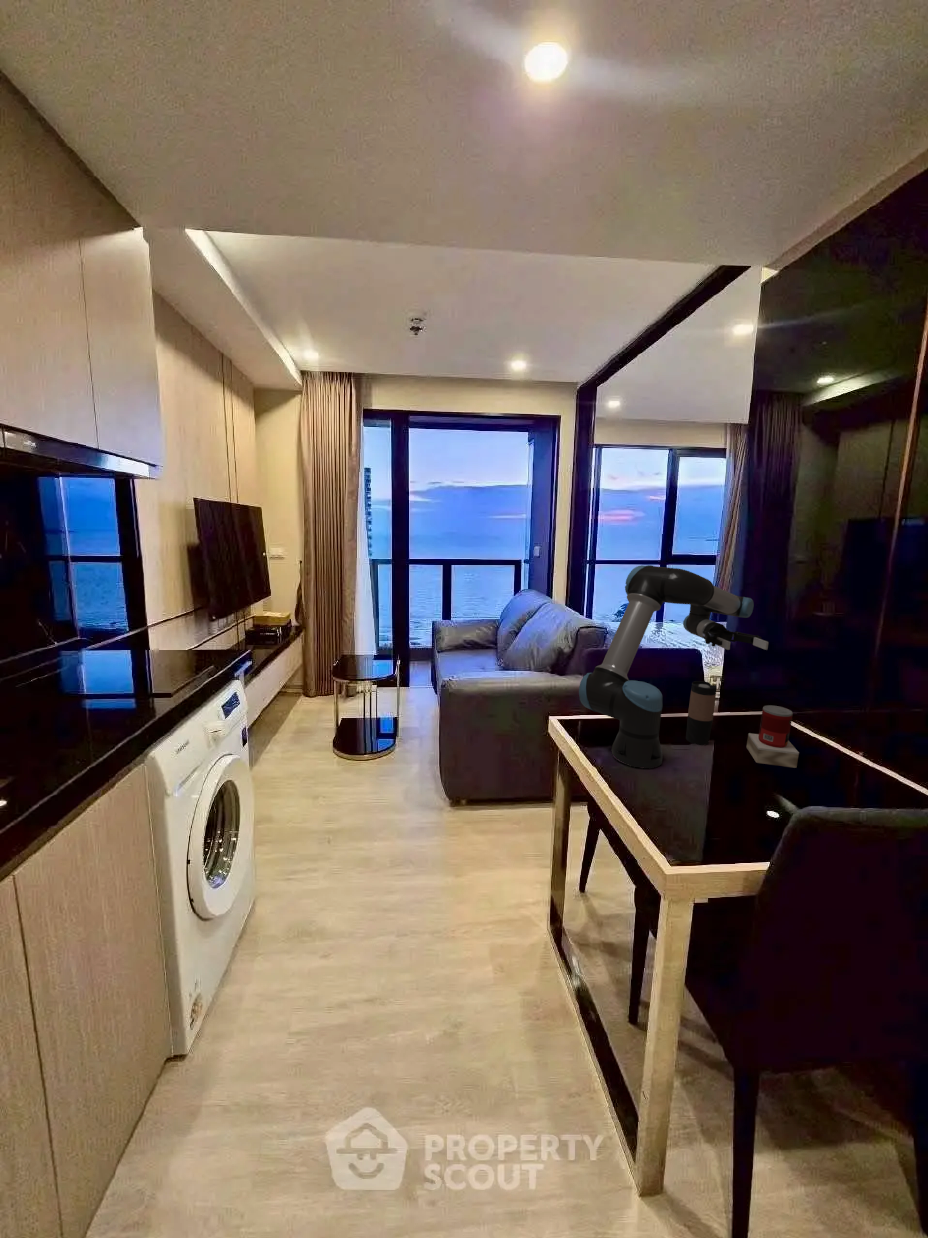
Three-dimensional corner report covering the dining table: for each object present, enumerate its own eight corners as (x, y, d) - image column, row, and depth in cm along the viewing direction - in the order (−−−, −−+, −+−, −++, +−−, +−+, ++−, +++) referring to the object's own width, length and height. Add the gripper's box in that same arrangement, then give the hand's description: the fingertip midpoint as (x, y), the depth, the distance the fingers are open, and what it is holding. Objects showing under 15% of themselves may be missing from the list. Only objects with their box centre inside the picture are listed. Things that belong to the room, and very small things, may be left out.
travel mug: (685, 743, 168) (692, 686, 164) (684, 734, 175) (691, 679, 171) (710, 747, 165) (718, 689, 161) (708, 738, 172) (716, 682, 168)
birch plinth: (756, 762, 155) (758, 747, 154) (746, 747, 166) (748, 733, 165) (796, 767, 152) (799, 752, 151) (783, 751, 163) (786, 737, 162)
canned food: (791, 749, 154) (797, 715, 151) (762, 746, 155) (768, 713, 153) (781, 738, 161) (787, 706, 159) (754, 735, 163) (759, 704, 160)
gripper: (741, 641, 192) (780, 656, 171) (679, 641, 189) (711, 656, 169) (744, 621, 190) (784, 635, 170) (681, 621, 188) (714, 635, 167)
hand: (748, 645), depth 169 cm, fingers open, 13 cm apart
